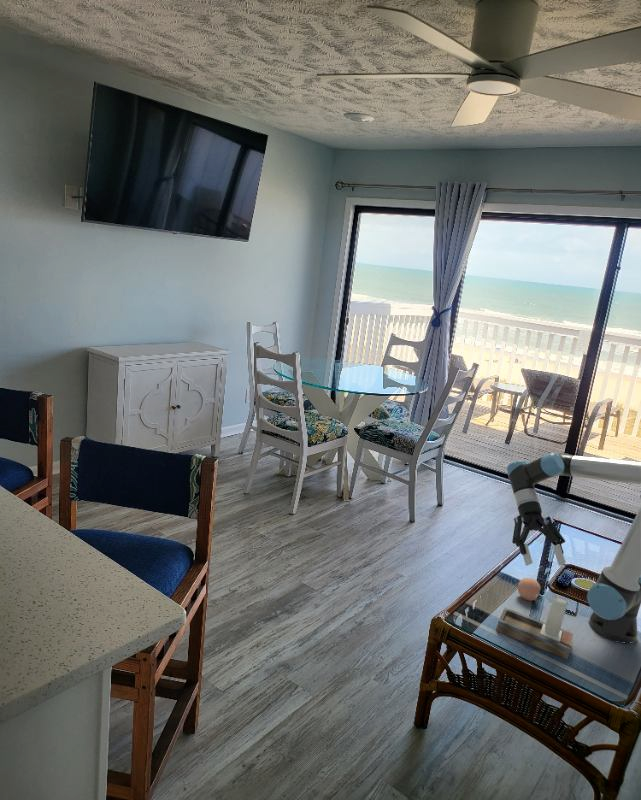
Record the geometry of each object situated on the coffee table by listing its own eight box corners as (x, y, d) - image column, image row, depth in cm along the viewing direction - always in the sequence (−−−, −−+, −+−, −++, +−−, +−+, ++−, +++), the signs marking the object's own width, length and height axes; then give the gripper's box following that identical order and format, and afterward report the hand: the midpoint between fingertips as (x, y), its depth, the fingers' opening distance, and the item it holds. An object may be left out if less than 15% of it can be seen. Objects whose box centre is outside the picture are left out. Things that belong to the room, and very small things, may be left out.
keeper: (561, 635, 197) (571, 600, 194) (558, 645, 190) (569, 609, 188) (542, 627, 199) (551, 593, 197) (539, 637, 193) (549, 601, 190)
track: (570, 643, 197) (573, 632, 197) (567, 659, 188) (570, 647, 187) (502, 616, 207) (505, 605, 206) (496, 630, 197) (499, 619, 196)
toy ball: (542, 604, 220) (547, 584, 219) (524, 605, 218) (529, 584, 216) (528, 593, 228) (533, 573, 226) (511, 593, 225) (516, 573, 224)
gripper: (549, 509, 221) (568, 567, 210) (492, 506, 212) (508, 567, 201) (563, 501, 215) (583, 561, 204) (504, 498, 206) (522, 560, 195)
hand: (545, 564), depth 202 cm, fingers open, 13 cm apart
